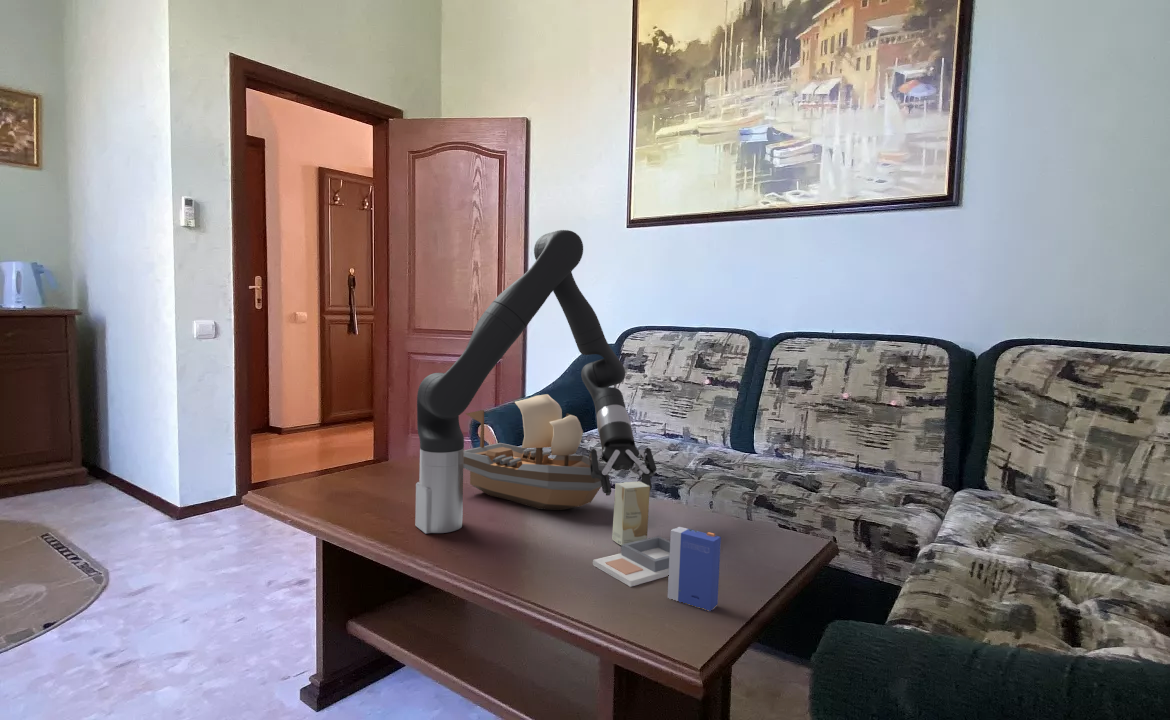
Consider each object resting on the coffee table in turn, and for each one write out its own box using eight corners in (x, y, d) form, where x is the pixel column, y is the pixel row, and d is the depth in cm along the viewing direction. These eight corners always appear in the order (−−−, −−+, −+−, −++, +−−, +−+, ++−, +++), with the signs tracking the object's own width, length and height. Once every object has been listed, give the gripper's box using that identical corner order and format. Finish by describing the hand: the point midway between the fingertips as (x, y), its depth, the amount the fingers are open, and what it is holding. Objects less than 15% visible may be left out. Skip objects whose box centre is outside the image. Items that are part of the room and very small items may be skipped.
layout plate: (630, 586, 109) (631, 569, 109) (592, 565, 118) (593, 549, 118) (695, 567, 118) (696, 552, 118) (656, 549, 127) (657, 534, 127)
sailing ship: (579, 527, 139) (583, 405, 137) (440, 489, 165) (442, 386, 163) (618, 509, 153) (623, 399, 151) (484, 477, 178) (487, 382, 177)
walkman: (717, 606, 103) (721, 534, 102) (710, 612, 101) (713, 539, 100) (674, 592, 107) (677, 523, 107) (666, 598, 105) (669, 528, 104)
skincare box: (622, 547, 128) (624, 488, 127) (611, 540, 131) (613, 482, 131) (648, 543, 131) (651, 485, 130) (637, 536, 134) (639, 480, 134)
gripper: (587, 420, 139) (599, 485, 128) (648, 419, 142) (665, 483, 132) (581, 439, 144) (592, 503, 134) (640, 438, 148) (655, 500, 137)
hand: (628, 493), depth 133 cm, fingers open, 8 cm apart
